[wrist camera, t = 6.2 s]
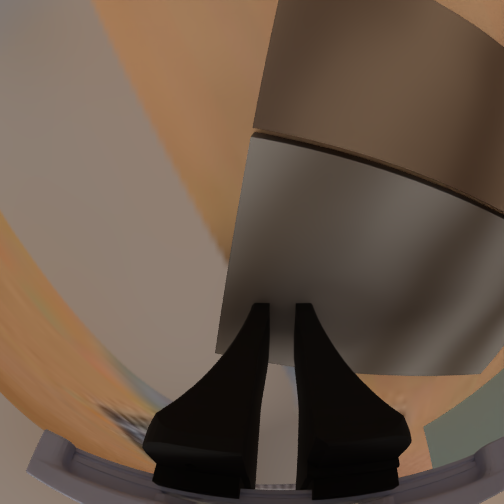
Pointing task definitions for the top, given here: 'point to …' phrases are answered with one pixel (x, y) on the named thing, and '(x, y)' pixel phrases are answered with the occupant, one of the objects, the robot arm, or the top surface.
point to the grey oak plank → (365, 262)
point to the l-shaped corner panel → (468, 424)
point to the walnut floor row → (390, 87)
